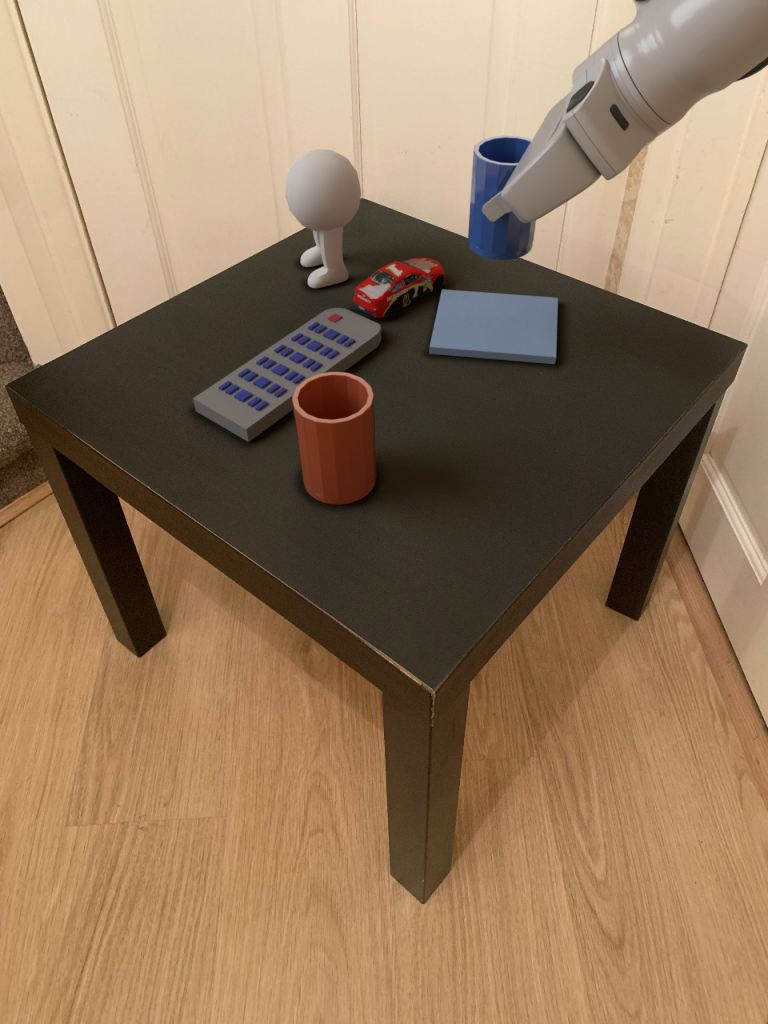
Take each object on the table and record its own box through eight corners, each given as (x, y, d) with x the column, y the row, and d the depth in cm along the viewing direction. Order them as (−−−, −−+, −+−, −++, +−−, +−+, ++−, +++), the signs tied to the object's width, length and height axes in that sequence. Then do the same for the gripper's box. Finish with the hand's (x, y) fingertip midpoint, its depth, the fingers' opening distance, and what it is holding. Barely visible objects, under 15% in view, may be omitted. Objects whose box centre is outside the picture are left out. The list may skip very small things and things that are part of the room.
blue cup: (533, 230, 83) (545, 137, 76) (531, 262, 79) (543, 167, 72) (471, 226, 84) (477, 133, 77) (465, 257, 80) (470, 163, 73)
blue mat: (557, 304, 96) (558, 297, 95) (555, 364, 88) (556, 357, 87) (441, 296, 97) (441, 289, 97) (429, 354, 89) (429, 346, 89)
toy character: (288, 258, 104) (275, 141, 93) (355, 248, 106) (350, 132, 95) (300, 294, 98) (287, 174, 87) (371, 283, 100) (367, 164, 89)
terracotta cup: (381, 457, 78) (379, 375, 71) (369, 508, 73) (365, 426, 66) (312, 450, 79) (303, 368, 71) (295, 500, 74) (283, 418, 67)
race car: (422, 268, 102) (423, 238, 99) (453, 283, 99) (454, 254, 96) (346, 308, 96) (344, 278, 93) (376, 326, 93) (376, 296, 90)
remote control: (195, 412, 83) (191, 396, 82) (337, 315, 95) (336, 299, 93) (248, 443, 80) (245, 427, 78) (389, 338, 91) (388, 322, 90)
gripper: (618, 31, 74) (505, 127, 83) (574, 114, 61) (447, 216, 70) (655, 88, 76) (542, 175, 85) (621, 179, 63) (491, 269, 73)
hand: (498, 194), depth 78 cm, fingers closed on blue cup, 7 cm apart
